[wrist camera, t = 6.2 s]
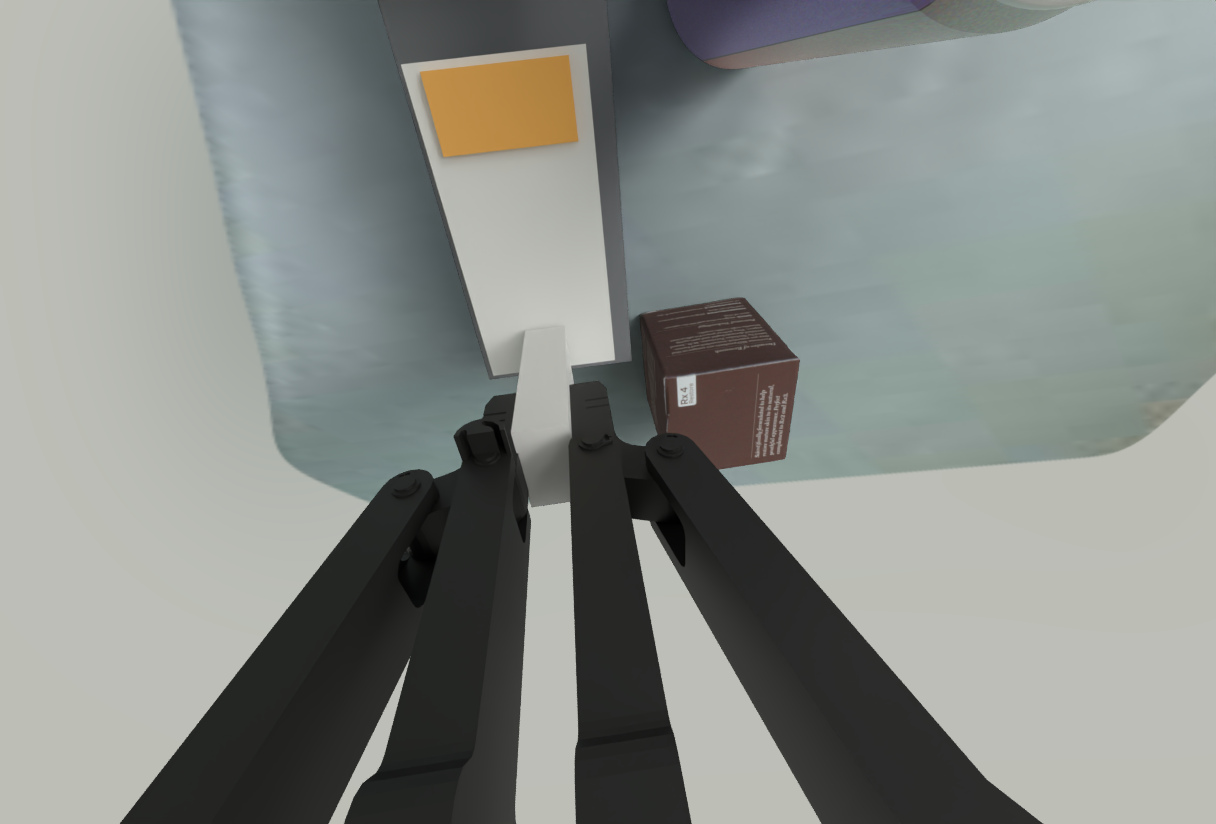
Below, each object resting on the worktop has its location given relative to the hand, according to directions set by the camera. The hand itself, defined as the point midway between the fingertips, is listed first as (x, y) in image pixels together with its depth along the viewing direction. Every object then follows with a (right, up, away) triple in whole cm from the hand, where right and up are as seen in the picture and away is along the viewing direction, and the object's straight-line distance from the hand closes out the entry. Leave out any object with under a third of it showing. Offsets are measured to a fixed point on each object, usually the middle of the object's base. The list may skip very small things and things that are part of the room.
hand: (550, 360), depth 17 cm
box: (+7, +2, +9) cm, 12 cm away
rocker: (-1, +5, -1) cm, 5 cm away
